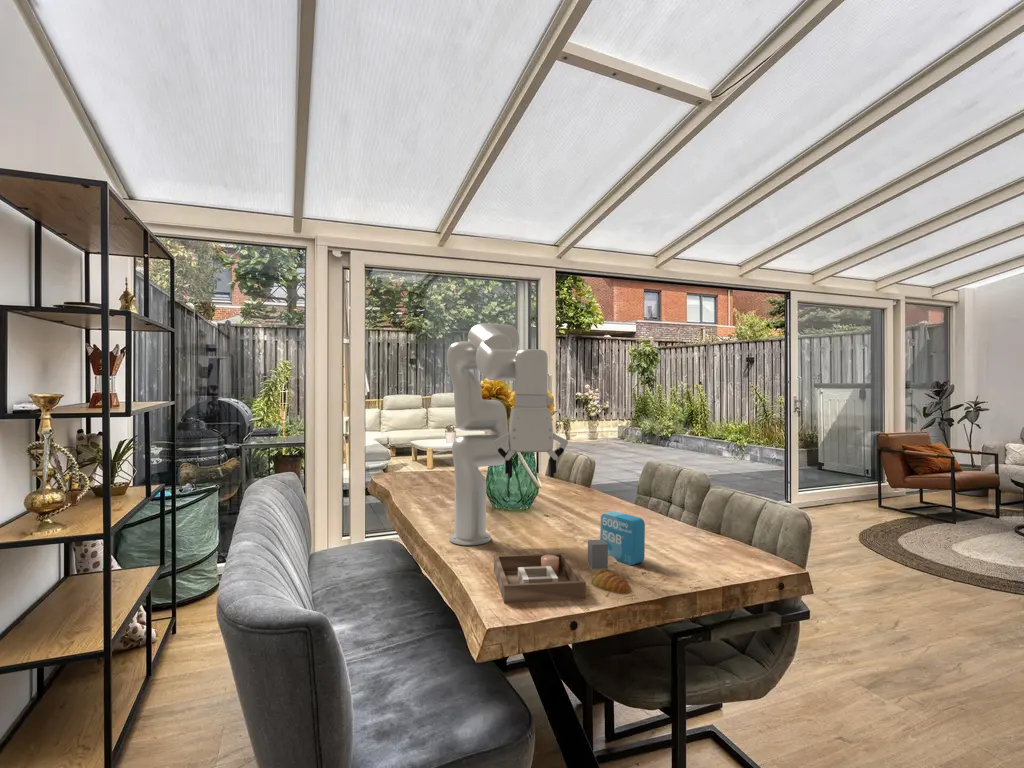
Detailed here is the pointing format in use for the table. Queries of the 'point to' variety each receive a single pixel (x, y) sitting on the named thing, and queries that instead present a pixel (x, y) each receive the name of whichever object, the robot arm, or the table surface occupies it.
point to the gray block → (597, 555)
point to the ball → (551, 562)
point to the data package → (623, 536)
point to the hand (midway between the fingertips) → (530, 476)
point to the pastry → (610, 582)
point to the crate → (537, 579)
